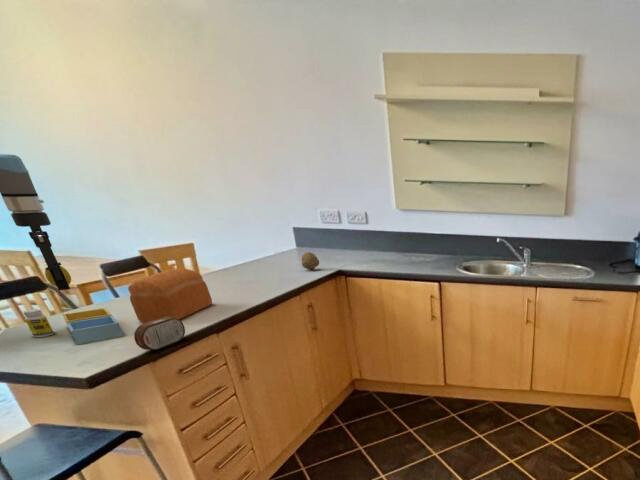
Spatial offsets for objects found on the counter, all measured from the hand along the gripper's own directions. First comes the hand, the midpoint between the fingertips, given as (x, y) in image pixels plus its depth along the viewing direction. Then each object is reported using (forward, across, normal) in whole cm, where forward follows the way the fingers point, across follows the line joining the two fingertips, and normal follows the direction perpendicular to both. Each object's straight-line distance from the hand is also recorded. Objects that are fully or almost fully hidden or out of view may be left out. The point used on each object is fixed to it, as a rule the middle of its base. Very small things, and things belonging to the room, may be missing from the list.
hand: (63, 287), depth 136 cm
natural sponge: (+15, +48, -101) cm, 113 cm away
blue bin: (+15, -11, -3) cm, 18 cm away
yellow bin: (+15, +3, -3) cm, 15 cm away
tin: (+15, -36, -16) cm, 43 cm away
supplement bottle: (+15, +3, +9) cm, 18 cm away
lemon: (+1, 0, 0) cm, 1 cm away
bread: (+15, +2, -28) cm, 31 cm away
